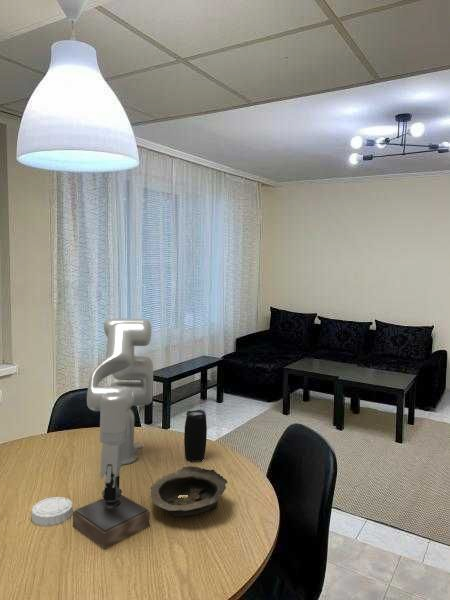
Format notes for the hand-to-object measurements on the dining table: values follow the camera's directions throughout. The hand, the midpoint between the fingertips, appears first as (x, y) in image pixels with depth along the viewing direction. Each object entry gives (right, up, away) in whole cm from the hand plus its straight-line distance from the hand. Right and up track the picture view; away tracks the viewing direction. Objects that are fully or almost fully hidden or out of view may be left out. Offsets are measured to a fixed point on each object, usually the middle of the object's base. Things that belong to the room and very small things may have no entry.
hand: (112, 493), depth 133 cm
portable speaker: (+21, -8, +50) cm, 55 cm away
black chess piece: (0, -3, 0) cm, 3 cm away
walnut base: (0, -10, 0) cm, 10 cm away
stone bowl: (+21, -10, +12) cm, 27 cm away
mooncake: (-20, -9, +5) cm, 23 cm away
